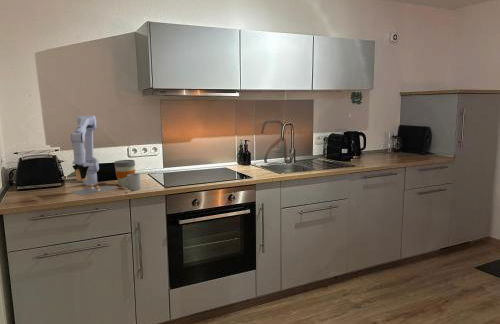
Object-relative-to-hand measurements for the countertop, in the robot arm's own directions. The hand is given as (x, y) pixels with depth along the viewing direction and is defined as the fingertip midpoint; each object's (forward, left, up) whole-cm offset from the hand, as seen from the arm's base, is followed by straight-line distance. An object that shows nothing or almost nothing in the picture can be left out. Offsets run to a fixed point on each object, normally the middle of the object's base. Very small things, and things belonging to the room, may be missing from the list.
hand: (81, 177), depth 208 cm
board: (+1, +6, -10) cm, 12 cm away
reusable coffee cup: (-5, +29, -10) cm, 31 cm away
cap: (0, 0, -1) cm, 1 cm away
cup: (+11, +24, -10) cm, 29 cm away
